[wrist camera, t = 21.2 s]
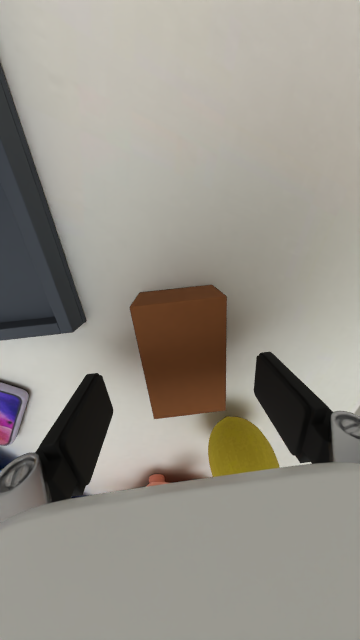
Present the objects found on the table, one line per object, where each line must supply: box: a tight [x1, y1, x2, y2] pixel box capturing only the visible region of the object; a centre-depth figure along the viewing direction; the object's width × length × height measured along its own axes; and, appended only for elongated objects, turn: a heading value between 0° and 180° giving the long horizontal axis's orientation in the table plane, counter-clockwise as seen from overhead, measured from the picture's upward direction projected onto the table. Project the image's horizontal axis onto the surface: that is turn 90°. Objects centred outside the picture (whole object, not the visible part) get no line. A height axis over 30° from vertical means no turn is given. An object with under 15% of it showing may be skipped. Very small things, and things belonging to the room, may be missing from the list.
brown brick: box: [130, 285, 227, 419], centre depth 13 cm, size 6×9×4 cm, turn 6°
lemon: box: [208, 416, 280, 477], centre depth 15 cm, size 6×6×8 cm
